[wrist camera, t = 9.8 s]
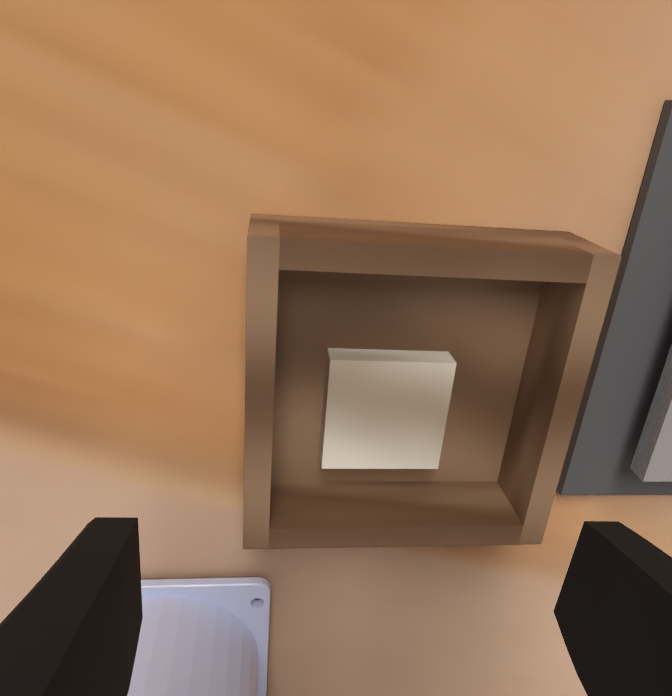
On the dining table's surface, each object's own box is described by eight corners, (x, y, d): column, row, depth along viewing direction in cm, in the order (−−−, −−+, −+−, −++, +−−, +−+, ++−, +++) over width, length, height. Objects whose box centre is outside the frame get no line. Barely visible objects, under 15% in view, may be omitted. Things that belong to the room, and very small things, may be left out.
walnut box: (507, 488, 22) (540, 544, 19) (246, 489, 21) (242, 549, 18) (569, 231, 18) (621, 256, 15) (251, 214, 17) (247, 236, 14)
